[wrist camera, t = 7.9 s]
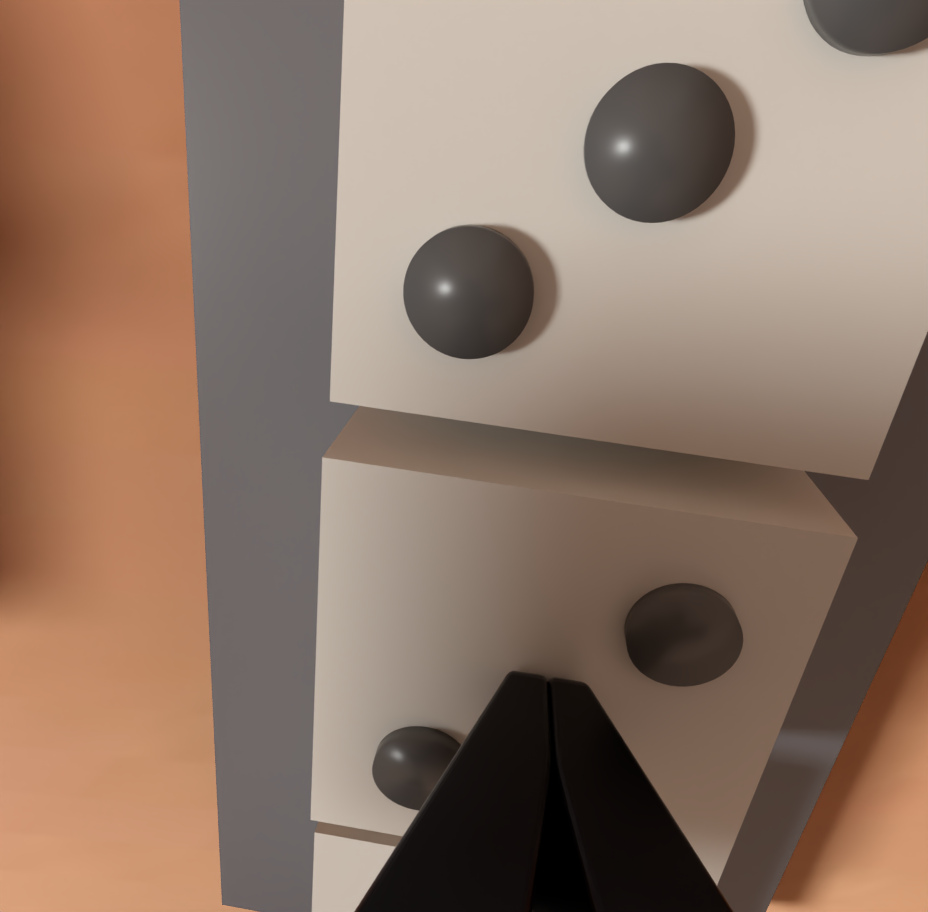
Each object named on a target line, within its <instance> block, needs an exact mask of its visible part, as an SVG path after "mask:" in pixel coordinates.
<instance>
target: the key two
mask: <svg viewBox="0 0 928 912" xmlns="http://www.w3.org/2000/svg"><path fill="white" fill-rule="evenodd" d="M857 539H858V537H857V536H856V535H855V534H854V532H853V531H852V530H851V529H850V527H849V526H848V525H847V524H846V522H845V521H844V520H843V519H842V517H841V516H840V515H839V514H838V512H837V511H836V510H835V509H834V507H833V506H832V505H831V504H830V502H829V501H828V500H827V499H826V497H825V496H824V495H823V494H822V493H821V491H820V490H819V489H818V488H817V486H816V485H815V484H814V483H813V481H812V480H811V479H810V478H809V476H808V475H807V474H806V473H805V471H803V470H796V469H789V468H782V467H775V466H768V465H762V464H755V463H748V462H741V461H734V460H727V459H721V458H714V457H707V456H700V455H693V454H686V453H680V452H673V451H666V450H659V449H652V448H645V447H639V446H632V445H625V444H618V443H611V442H604V441H597V440H591V439H584V438H577V437H570V436H563V435H556V434H550V433H543V432H536V431H529V430H522V429H515V428H509V427H502V426H495V425H488V424H481V423H474V422H468V421H461V420H454V419H447V418H440V417H433V416H427V415H420V414H413V413H406V412H399V411H392V410H386V409H379V408H372V407H365V406H359V407H358V409H357V410H356V411H355V413H354V414H353V416H352V417H351V418H350V420H349V421H348V422H347V424H346V425H345V427H344V428H343V429H342V431H341V432H340V433H339V435H338V436H337V438H336V439H335V440H334V442H333V443H332V445H331V446H330V447H329V449H328V450H327V451H326V453H325V454H324V456H323V457H322V480H321V511H320V542H319V573H318V604H317V634H316V665H315V696H314V727H313V758H312V788H311V819H310V820H314V821H319V822H325V823H331V824H336V825H342V826H347V827H353V828H359V829H364V830H370V831H376V832H381V833H387V834H392V835H398V836H403V835H404V833H405V832H406V830H407V829H408V827H409V826H410V824H411V823H412V821H413V819H414V818H415V816H416V815H417V813H418V812H419V810H420V809H421V807H422V805H423V804H424V802H425V801H426V799H427V798H428V796H429V795H430V793H431V791H432V790H433V788H434V787H435V785H436V784H437V782H438V781H439V779H440V777H441V776H442V774H443V773H444V771H445V770H446V768H447V767H448V765H449V763H450V762H451V760H452V759H453V757H454V756H455V754H456V753H457V751H458V749H459V748H460V746H461V745H462V743H463V742H464V740H465V739H466V737H467V735H468V734H469V732H470V731H471V729H472V728H473V726H474V725H475V723H476V721H477V720H478V718H479V717H480V715H481V714H482V712H483V711H484V709H485V707H486V706H487V704H488V703H489V701H490V700H491V698H492V697H493V695H494V693H495V692H496V690H497V689H498V687H499V686H500V684H501V683H502V681H503V679H504V678H505V676H506V675H507V674H508V673H509V672H511V671H520V672H526V673H532V674H538V675H542V676H544V677H545V678H546V680H547V682H548V681H549V680H550V679H551V678H553V677H557V678H563V679H569V680H575V681H581V682H584V683H586V684H587V685H588V686H589V687H590V688H591V690H592V691H593V693H594V694H595V696H596V697H597V699H598V700H599V702H600V704H601V705H602V707H603V708H604V710H605V711H606V713H607V715H608V716H609V718H610V719H611V721H612V722H613V724H614V725H615V727H616V729H617V730H618V732H619V733H620V735H621V736H622V738H623V740H624V741H625V743H626V744H627V746H628V747H629V749H630V751H631V752H632V754H633V755H634V757H635V758H636V760H637V761H638V763H639V765H640V766H641V768H642V769H643V771H644V772H645V774H646V776H647V777H648V779H649V780H650V782H651V783H652V785H653V786H654V788H655V790H656V791H657V793H658V794H659V796H660V797H661V799H662V801H663V802H664V804H665V805H666V807H667V808H668V810H669V811H670V813H671V815H672V816H673V818H674V819H675V821H676V822H677V824H678V826H679V827H680V829H681V830H682V832H683V833H684V835H685V836H686V838H687V840H688V841H689V843H690V844H691V846H692V847H693V849H694V851H695V852H696V854H697V855H698V857H699V858H700V860H701V861H702V863H703V865H704V866H705V868H706V869H707V871H708V872H709V874H710V876H711V877H712V879H713V880H714V882H715V883H716V885H717V884H718V882H719V879H720V877H721V874H722V872H723V870H724V867H725V865H726V862H727V860H728V857H729V855H730V852H731V850H732V847H733V845H734V842H735V840H736V837H737V835H738V833H739V830H740V828H741V825H742V823H743V820H744V818H745V815H746V813H747V810H748V808H749V805H750V803H751V801H752V798H753V796H754V793H755V791H756V788H757V786H758V783H759V781H760V778H761V776H762V773H763V771H764V768H765V766H766V764H767V761H768V759H769V756H770V754H771V751H772V749H773V746H774V744H775V741H776V739H777V736H778V734H779V731H780V729H781V727H782V724H783V722H784V719H785V717H786V714H787V712H788V709H789V707H790V704H791V702H792V699H793V697H794V695H795V692H796V690H797V687H798V685H799V682H800V680H801V677H802V675H803V672H804V670H805V667H806V665H807V662H808V660H809V658H810V655H811V653H812V650H813V648H814V645H815V643H816V640H817V638H818V635H819V633H820V630H821V628H822V625H823V623H824V621H825V618H826V616H827V613H828V611H829V608H830V606H831V603H832V601H833V598H834V596H835V593H836V591H837V589H838V586H839V584H840V581H841V579H842V576H843V574H844V571H845V569H846V566H847V564H848V561H849V559H850V556H851V554H852V552H853V549H854V547H855V544H856V542H857Z"/></svg>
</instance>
